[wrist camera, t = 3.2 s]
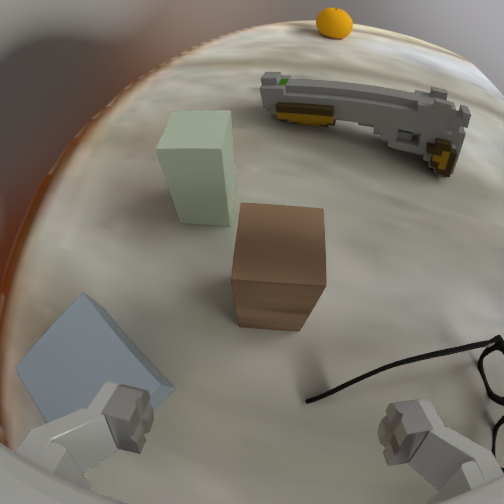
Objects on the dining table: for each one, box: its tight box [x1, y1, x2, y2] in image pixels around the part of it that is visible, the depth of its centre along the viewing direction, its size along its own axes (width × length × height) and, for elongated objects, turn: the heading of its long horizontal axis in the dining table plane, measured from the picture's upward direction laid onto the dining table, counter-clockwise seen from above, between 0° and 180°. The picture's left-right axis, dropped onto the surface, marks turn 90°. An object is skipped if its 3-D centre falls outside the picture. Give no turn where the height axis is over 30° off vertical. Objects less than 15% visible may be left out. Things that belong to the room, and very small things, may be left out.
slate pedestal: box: [15, 292, 176, 423], centre depth 18 cm, size 9×9×4 cm
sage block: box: [156, 110, 236, 226], centre depth 23 cm, size 4×4×9 cm
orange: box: [316, 8, 353, 39], centre depth 48 cm, size 8×8×8 cm
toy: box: [260, 72, 471, 177], centre depth 30 cm, size 6×24×10 cm, turn 70°
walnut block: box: [231, 203, 326, 331], centre depth 19 cm, size 4×4×9 cm
